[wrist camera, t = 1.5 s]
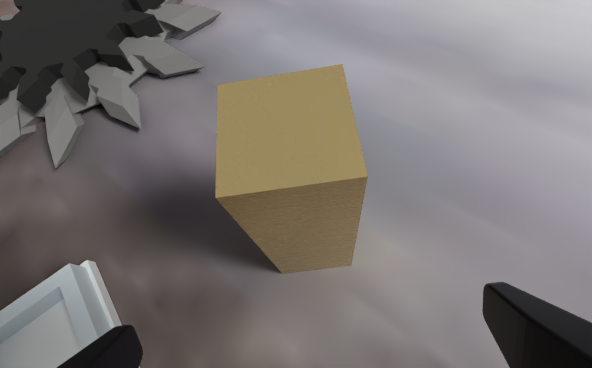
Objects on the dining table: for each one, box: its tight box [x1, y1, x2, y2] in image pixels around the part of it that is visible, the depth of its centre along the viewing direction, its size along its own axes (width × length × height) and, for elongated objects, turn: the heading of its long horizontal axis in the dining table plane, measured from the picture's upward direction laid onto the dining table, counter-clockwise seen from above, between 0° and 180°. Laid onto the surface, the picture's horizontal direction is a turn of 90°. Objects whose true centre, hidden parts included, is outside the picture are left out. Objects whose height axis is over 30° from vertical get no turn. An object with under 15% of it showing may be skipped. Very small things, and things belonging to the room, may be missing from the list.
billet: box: [215, 64, 368, 274], centre depth 16 cm, size 4×4×12 cm
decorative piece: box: [0, 0, 222, 168], centre depth 32 cm, size 30×4×30 cm
